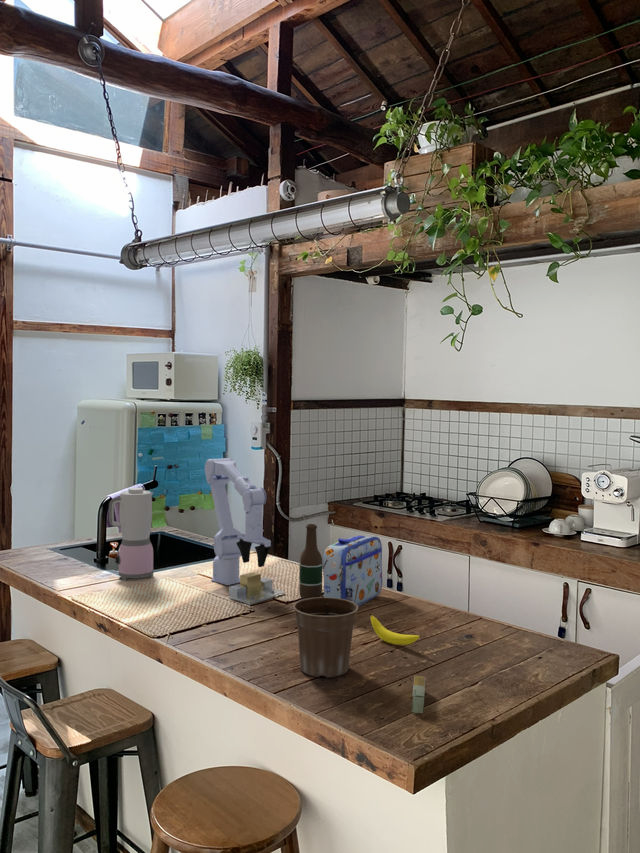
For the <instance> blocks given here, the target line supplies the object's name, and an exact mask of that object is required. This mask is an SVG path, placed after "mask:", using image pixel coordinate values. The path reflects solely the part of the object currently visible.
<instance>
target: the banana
mask: <svg viewBox="0 0 640 853" xmlns="http://www.w3.org/2000/svg"><path fill="white" fill-rule="evenodd" d="M368 614H369V616H370V622H371V626H372V627H373V628H372V629H373V630H374V632H375V634H376V635H377V636H378V638H379V639H381V641H384V642H385V643H387V644H392V645H398V646H406V645H407V646H408V645H411V644H413V643H415V642H416V641H418V640H419V639H420V637H421V636H420V635H417V634H401V633H398V632H394V631H391V630H389V629H387V628H386V627H385V626H383V625H382V623H381V622H380V620H378V619H377V617H375V616H373V613H368Z"/></svg>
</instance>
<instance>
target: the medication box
mask: <svg viewBox="0 0 640 853" xmlns="http://www.w3.org/2000/svg"><path fill="white" fill-rule="evenodd" d="M425 688H426V676H422V675H414V678H413V687H412V699H411V700H412V701H411V712H412V713H411V714H416V713H423V714H424V706H425V691H426V690H425ZM413 712H414V713H413Z"/></svg>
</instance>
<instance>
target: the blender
mask: <svg viewBox="0 0 640 853" xmlns="http://www.w3.org/2000/svg"><path fill="white" fill-rule="evenodd" d="M153 495H154V492H153V491H149V490H144V488H143V487H130V488H128V490H125V491H122V492H120V494H119V497H114V498H112V499H111V500H110V501H109V503H108V521H109V525H110V526H111V527H116V528H117V527H118V528H120V531H121V537H122V538H121V539H122V540H121V544H120V545H119V548H118V554H117V555H116V556H115V557H114V558H115V564H117V565H118V576H120V577H121V580H122V581H125V582H126V581H128V578H129V579H130V578H131V579H136V578H137V579H138V578H146V577H148V578H149V579H152V578H153V577H154V571H155V570H154V548H153V544H152V542H151V539H150V536H151V535H150V534H151V529H152V521H153V501H152V500H153V499H152V496H153ZM117 503H119V521H115V504H117Z"/></svg>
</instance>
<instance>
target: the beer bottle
mask: <svg viewBox="0 0 640 853" xmlns="http://www.w3.org/2000/svg"><path fill="white" fill-rule="evenodd" d="M305 528H306V535H305V546H304V549H303V550H302V552H301V554H300V557H299V576H298V577H299V581H298V582H299V584H298V586H299V588H298V591H299V596H300V597H301V598H302V597H304V598H303V599H307V598H315V597H323V557H322V555H321V553H320V551H319V549H318V543H317V542H318V541H317V529H318V526H317V524H316V523H309V524H306V526H305Z"/></svg>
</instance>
